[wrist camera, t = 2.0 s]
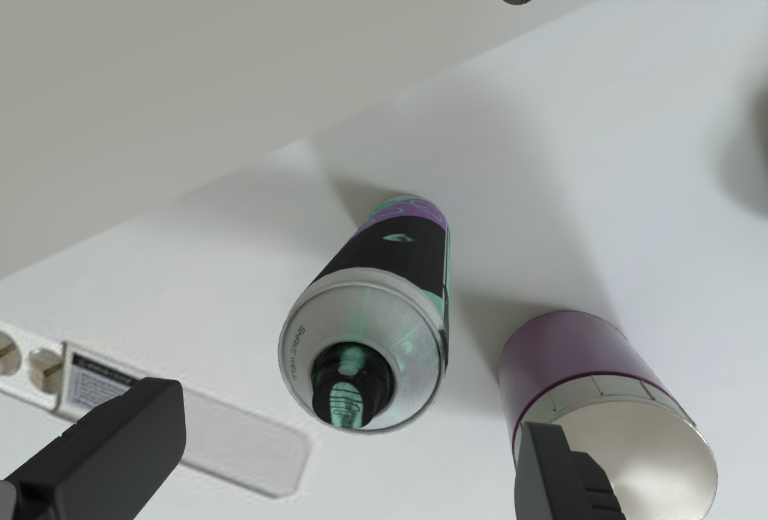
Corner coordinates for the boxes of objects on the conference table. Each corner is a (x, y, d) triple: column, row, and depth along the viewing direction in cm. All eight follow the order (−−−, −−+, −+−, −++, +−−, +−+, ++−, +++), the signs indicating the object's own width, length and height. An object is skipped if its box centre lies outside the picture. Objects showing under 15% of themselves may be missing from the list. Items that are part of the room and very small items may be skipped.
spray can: (427, 179, 30) (387, 273, 11) (463, 255, 31) (483, 457, 12) (353, 216, 32) (205, 356, 13) (390, 287, 33) (304, 516, 14)
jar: (505, 304, 32) (528, 382, 22) (647, 317, 31) (734, 403, 21) (491, 421, 34) (506, 534, 25) (621, 436, 33) (690, 561, 24)
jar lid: (524, 365, 24) (532, 390, 22) (711, 384, 23) (739, 412, 21) (504, 507, 27) (509, 543, 24) (672, 530, 26) (694, 570, 23)
